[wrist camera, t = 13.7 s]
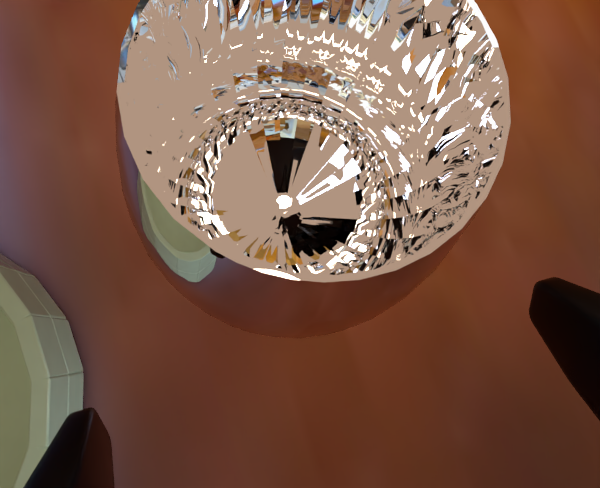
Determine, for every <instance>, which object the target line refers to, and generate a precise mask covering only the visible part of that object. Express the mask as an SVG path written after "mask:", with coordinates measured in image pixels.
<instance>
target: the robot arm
mask: <svg viewBox="0 0 600 488" xmlns="http://www.w3.org/2000/svg"><path fill="white" fill-rule="evenodd" d="M529 315H530V318H531V321H532V323H533V324H534V326H535V327H536V329H537V331H538V332H539V334H540V335H541V337H542V339H543V340H544V342H545V343H546V345H547V347H548V348H549V350H550V351H551V353H552V355H553V356H554V358H555V359H556V361H557V363H558V364H559V366H560V367H561V369H562V371H563V372H564V374H565V375H566V377H567V378H568V380H569V381H570V383H571V384H572V385H573V387H574V388H575V389H576V391H577V392H578V393H579V395H580V396H581V397H582V399H583V400H584V401H585V402H586V404H587V405H588V406H589V408H590V409H591V410H592V411H593V413H594V414H595V415H596V417H597V418H598V419H599V420H600V294H599V293H596V292H594V291H591V290H589V289H586V288H583V287H581V286H578V285H576V284H573V283H570V282H568V281H565V280H563V279H560V278H556V277H553V278H549V279H545V280H541V281H538V282H537V283H536V284H535V286H534V289H533V294H532V299H531V303H530V308H529ZM23 488H114V474H113V460H112V447H111V440H110V436H109V434H108V432H107V430H106V428H105V426H104V424H103V422H102V421H101V419H100V417H99V415H98V413H97V412H96V410H95V409H94V408H86V409H83V410H79V411H76V412H72V413H71V414H69V415H68V416H67V418H66V419H65V421H64V422H63V424H62V426H61V427H60V429H59V430H58V432H57V434H56V435H55V437H54V439H53V440H52V442H51V443H50V445H49V447H48V448H47V450H46V451H45V453H44V455H43V456H42V458H41V460H40V461H39V463H38V464H37V466H36V468H35V469H34V471H33V472H32V474H31V476H30V477H29V479H28V481H27V482H26V484H25V485H24V487H23Z"/></svg>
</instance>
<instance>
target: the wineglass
mask: <svg viewBox="0 0 600 488" xmlns="http://www.w3.org/2000/svg"><path fill="white" fill-rule="evenodd" d="M510 123H511V119H510V101H509V84H508V76H507V73H506V70H505V66H504V63H503V60H502V56H501V53H500V50H499V46H498V43H497V40H496V38H495V36H494V34H493V32H492V31H491V29H490V27H489V25H488V23H487V22H486V20H485V18H484V16H483V15H482V13H481V11H480V9H479V7H478V6H477V4H476V3H475V1H474V0H140V2H139V3H138V5H137V7H136V10H135V12H134V15H133V17H132V20H131V22H130V25H129V27H128V30H127V32H126V35H125V37H124V40H123V43H122V46H121V56H120V65H119V74H118V84H117V94H116V101H115V125H116V152H117V159H118V165H119V172H120V178H121V185H122V191H123V194H124V198H125V201H126V205H127V208H128V212H129V215H130V218H131V220H132V223H133V225H134V227H135V229H136V231H137V233H138V235H139V237H140V239H141V241H142V243H143V245H144V248H145V250H146V252H147V254H148V256H149V257H150V259H151V260H152V261H153V263H154V264H155V265H156V266H157V268H158V269H159V270H160V272H161V273H162V274H163V276H164V277H165V278H166V280H167V281H168V282H169V283H170V284H171V285H172V286H173V287H174V288H175V289H176V290H177V291H178V292H179V293H181V294H182V295H183V296H184V297H185V298H186V299H187V300H188V301H190V302H191V303H192V304H194V305H195V306H197V307H198V308H200V309H201V310H202V311H204V312H205V313H207V314H208V315H210V316H212V317H214V318H216V319H218V320H220V321H222V322H224V323H226V324H228V325H230V326H232V327H235V328H238V329H241V330H243V331H246V332H250V333H254V334H259V335H264V336H270V337H279V338H306V337H314V336H322V335H328V334H332V333H336V332H340V331H343V330H346V329H349V328H351V327H354V326H357V325H359V324H361V323H364V322H366V321H369V320H371V319H373V318H375V317H376V316H378V315H380V314H381V313H383V312H384V311H386V310H387V309H389V308H391V307H392V306H394V305H395V304H397V303H398V302H400V301H401V300H403V299H404V298H405V297H407V296H408V295H409V294H410V293H411V292H412V291H413V290H414V289H415V288H416V287H417V286H418V285H420V284H421V283H422V282H423V281H424V280H425V279H426V278H427V277H428V276H429V275H430V274H431V273H433V272H434V271H435V270H436V269H437V267H438V266H439V265H440V263H441V262H442V261H443V259H444V258H445V257H446V255H447V254H448V253H449V251H450V250H451V249H452V248H453V246H454V245H455V244H456V242H457V241H458V240H459V238H460V236H461V235H462V234H463V232H464V231H465V230H466V229H467V227H468V226H469V225H470V223H471V222H472V221H473V219H474V218H475V216H476V214H477V213H478V211H479V209H480V208H481V206H482V204H483V203H484V201H485V199H486V198H487V195H488V193H489V191H490V189H491V187H492V185H493V183H494V180H495V178H496V176H497V174H498V172H499V170H500V168H501V165H502V163H503V159H504V153H505V148H506V143H507V138H508V133H509V128H510Z"/></svg>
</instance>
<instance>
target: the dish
mask: <svg viewBox="0 0 600 488" xmlns="http://www.w3.org/2000/svg"><path fill="white" fill-rule="evenodd" d="M65 319H66V317H65V315H64V314H63V313H62V311H61V310H60V309H59V307H58V306H57V305H56V303H55V302H54V301H53V299H52V298H51V297H50V296H49V294H48V293H47V292H46V290H45V289H44V288H43V286H42V285H41V284H40V282H39V281H38V280H37V279H36V278H35V276H34V275H32V274H31V273H29V272H28V271H26V270H25V269H23V268H22V267H20V266H19V265H17V264H16V263H14V262H13V261H11V260H10V259H8V258H7V257H5V256H4V255H2V254H1V253H0V488H23V487H24V485H25V484H26V482H27V481H28V479H29V477H30V476H31V474H32V472H33V471H34V469H35V468H36V466H37V464H38V463H39V461H40V460H41V458H42V456H43V455H44V453H45V451H46V450H47V448H48V447H49V445H50V443H51V442H52V440H53V439H54V437H55V435H56V434H57V432H58V430H59V429H60V427H61V426H62V424H63V422H64V421H65V419H66V418H67V416H68V415H69V414H71V413H72V412H76V411H79V410H83V372H82V371H83V367H82V364H81V360H80V357H79V354H78V351H77V348H76V345H75V341H74V338H73V335H72V332H71V329H70V325H69V322H68V320H65Z"/></svg>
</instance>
